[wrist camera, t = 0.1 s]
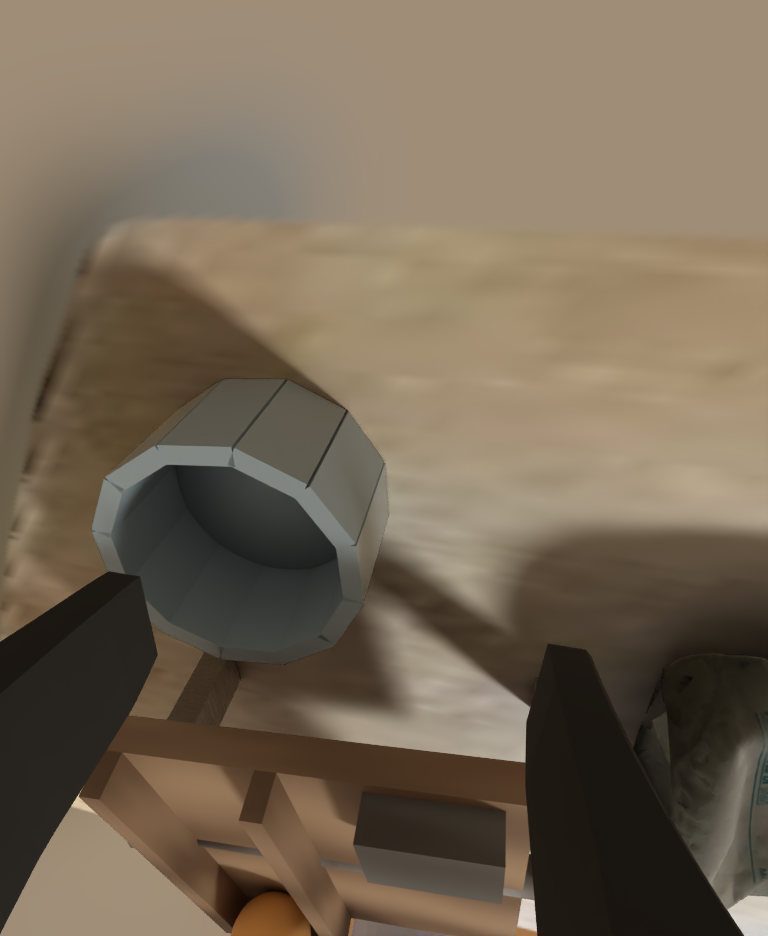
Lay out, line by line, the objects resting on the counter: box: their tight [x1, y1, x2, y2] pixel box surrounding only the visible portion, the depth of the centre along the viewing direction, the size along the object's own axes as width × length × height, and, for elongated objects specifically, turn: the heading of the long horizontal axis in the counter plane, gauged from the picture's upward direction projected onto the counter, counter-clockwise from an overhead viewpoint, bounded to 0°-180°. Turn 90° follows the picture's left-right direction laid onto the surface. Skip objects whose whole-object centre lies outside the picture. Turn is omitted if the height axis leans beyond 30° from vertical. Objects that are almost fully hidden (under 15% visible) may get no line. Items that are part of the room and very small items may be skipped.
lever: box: [79, 716, 535, 936], centre depth 20 cm, size 14×13×2 cm
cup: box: [92, 379, 389, 665], centre depth 20 cm, size 8×8×4 cm
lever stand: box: [128, 652, 538, 848], centre depth 23 cm, size 2×16×8 cm, turn 95°
